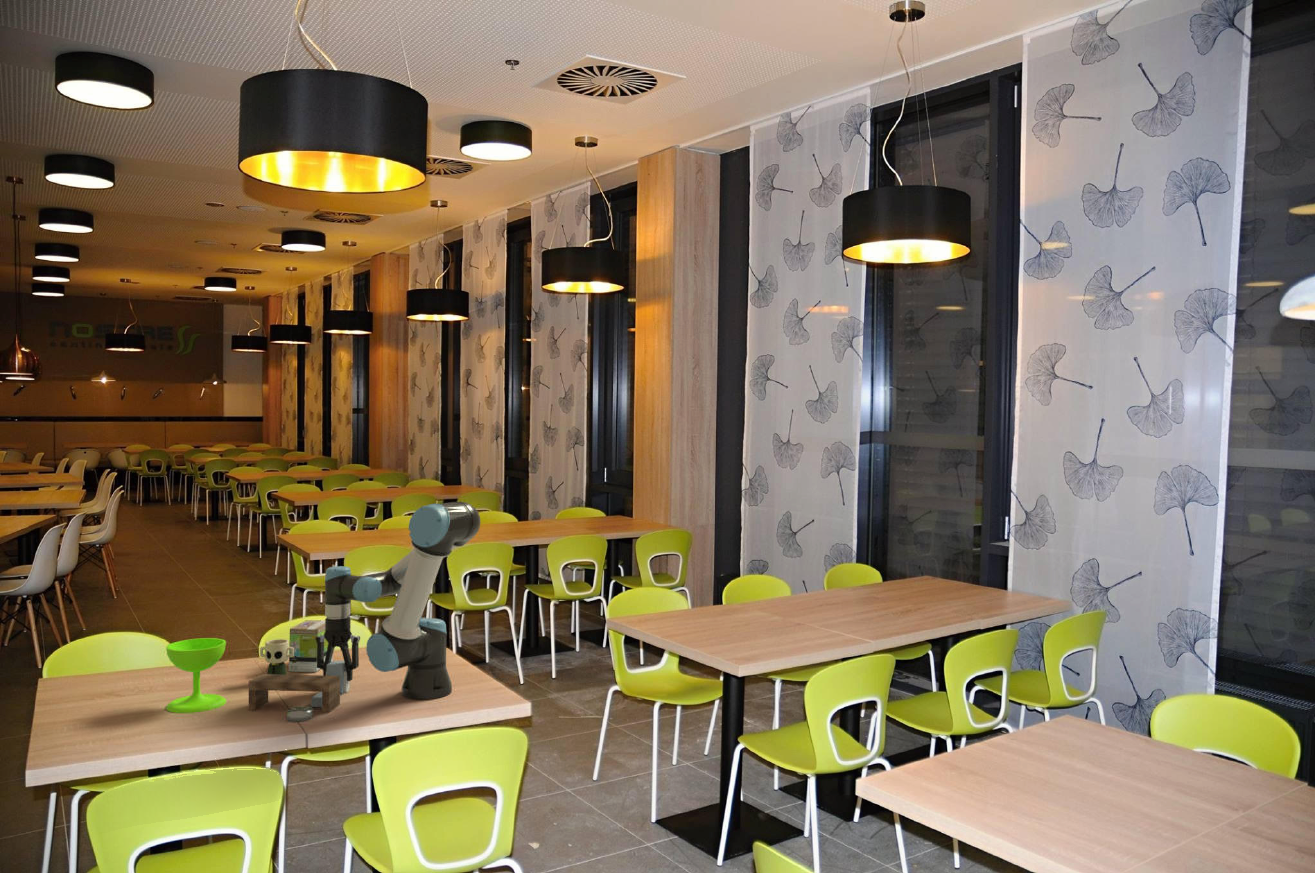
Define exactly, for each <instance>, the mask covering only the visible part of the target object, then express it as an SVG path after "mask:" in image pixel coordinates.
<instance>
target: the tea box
mask: <svg viewBox="0 0 1315 873" xmlns="http://www.w3.org/2000/svg"><path fill="white" fill-rule="evenodd" d="M324 633H325V619H324V620H319V619H311V620H309V619H307V620H305V621H302V622H300V623H299V624H296V625H294V626H293V627H290V628H289V640H288V641H289V647H293V648H294V656H293V657H289V658H288V672H290V673H291V672H292V673H293V672H294V673H317V672H318V671H319V670H321V669H320V668H317V642H316V637H318V636H320V635H321V636H322V635H324ZM327 647H328V642H327V640H326V639H325V641H324V661H325V657H326V653H327ZM289 654H291V650H289ZM333 657H334V656H333V655H332V659H331V662H332V661H334V660H333Z"/></svg>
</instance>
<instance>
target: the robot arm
mask: <svg viewBox="0 0 1315 873" xmlns="http://www.w3.org/2000/svg"><path fill="white" fill-rule="evenodd" d="M480 516H481V515H480V513H479V511H478V509H476V508H475V507H474V506H473V505H472V504H470V503H468V502H465V501H454V502H445V503H431V504H427V505H422V506H420V507H418V509H416V510H415V511H414V513H413V514H412V515H411V516H410V520H409V523H408V530H409V531H410V532H409V533H408V534H409V537H410V539H411V546H412V547H413V549H411V551H410V552H409V553H408V554H406V555H405V556H404V557H402V558H401V559H399V561H397V562H396V563H395V564H394V565H393V566H391V567H390V568H389V569H387V570H385V571H381V572H377V573H371V574H366V575H365V574H364V575H354V574H352V571H351V568H350V567H348V566H342V565H339V566H330V567H328V568H327V569H326V570H325V576H324V601H325V602H324V604H325V605H324V610H325V611H324V616H325V617H326V618H325V619H324V621H325V633H324V635H322V636H321V635H320V636H318V637H316V642H317V668H320V669H319V670H322V675H323V676H327V664H329V663H330V662H331V659H332V655H333V654H334V651H335V647H338V648H340V651H341V653H342V658H343V661H344V662H345V666H346V671H344V692H345V693H348V692H349V691H350V690H351V687H350V685H351V684H350V683H351V681H352V680H353V677H354V676H353V672H354V671H353V670H355V669H357V668H359V666H360V665H359V663H360V658H359V656H360V655H359V644H360V640H361V636H359V635H357V636H356V635H353V633H352V632H351V619H352V618H351V616H350V615H351V601H356V602H361V603H373V602H376V601H377V600H378V599H379V598H382V597H388V596H391V595H392V596H393V595H397V597H396V599H395V603H394V606H393V608H392V611H391V613H390V616H388V617H386V618H385V619H383V621H382V623H381V626H380V629H379V631H378V632H375V633H374V634H371V635H370V636H369V638H368V639H367V641H366V654H367V657H368V661H369V662H370V664H371V666H373V667H374V668H375V669H376V670H377V671H379V672H382V673H388V672H392V671H393V672H394V671H397V670H398V669H402V668H405V667H407V670H406V673H405V676H404V680H403V683H402V686H401V696H402V697H404V698H406V699H407V698H408V699H410V700H411V699H412V700H413V699H414V700H431V699H437V698H443V697H445V696H448V695H450V694H451V693H453V692H452V691H453V689H452V687H453V686H452V681H451V679H450V678H451V677H450V675H449V672H448V669H447V634H448V632H447V624H446V622H445V621H444V620H442V619H440V618H434V617H432V618H431V617H422V616H423V614H424V610H425V608H426V606H427V603H428V600H429V597H430V595H431V592H432V589H433V586H434V583H435V581H436V578H437V575H438V573H439V570H440V566H441V565H442V561H443V559H444V558H446V557H448V556H450V555H451V553H452V550H454V549H456V548H460V547H461V548H462V547H463V546H464V545H466V544H467V543H468V542H470V541H471V540H472V539H473V538H474V537H475V536H476V535H477V533H479V530H480V527H481V517H480ZM325 639H326V640H327V642H328V647H327V653H326V657H325V661H324V641H325ZM349 641H350V642H351V652H350V649H349V647H350V646H349V643H348V642H349Z"/></svg>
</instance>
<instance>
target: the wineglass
mask: <svg viewBox="0 0 1315 873" xmlns="http://www.w3.org/2000/svg"><path fill="white" fill-rule="evenodd" d="M226 644H227V641H226V640H225V639H222V638H216V637H205V638H203V637H201V638H191V639H184V640H183V639H182V640H179V641H176V642H172V643H169V644H167V646H166V647H165V649H166V654H167V657H168V659H169V662H171V663H172V664H173V665H174V666H175V667H176V668H178V669H179V670H182V671H183V672H184V671H185V672H189V673H192V693H191V695H186V696H182V697H178V698H176V699H174V700H172V701H170V702H169V703H168V704H167V706H166V710H167V711H169V712H170V713H176V714H193V713H194V714H195V713H201V712H206V711H210V710H214V709H218V708H220V707H223V706H224V705H225V704H226V703H227V699H226V698H225V697H223V696H222V695H220V694H213V693H205V694H203V693H202V692H201V672H203V671H205V670H208V669H211V668H212V667H213V666H214V665H216V664H218V662H219V661H220V660H221V658H222V657H223V655H224V653H225V650H226Z"/></svg>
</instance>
